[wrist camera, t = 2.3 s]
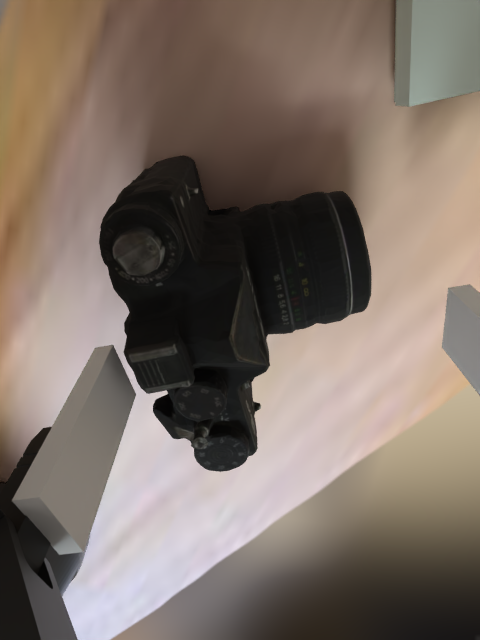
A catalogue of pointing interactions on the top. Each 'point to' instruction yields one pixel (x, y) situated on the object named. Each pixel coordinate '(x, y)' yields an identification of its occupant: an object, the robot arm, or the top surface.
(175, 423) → the camera
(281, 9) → the top surface
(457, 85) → the stand
